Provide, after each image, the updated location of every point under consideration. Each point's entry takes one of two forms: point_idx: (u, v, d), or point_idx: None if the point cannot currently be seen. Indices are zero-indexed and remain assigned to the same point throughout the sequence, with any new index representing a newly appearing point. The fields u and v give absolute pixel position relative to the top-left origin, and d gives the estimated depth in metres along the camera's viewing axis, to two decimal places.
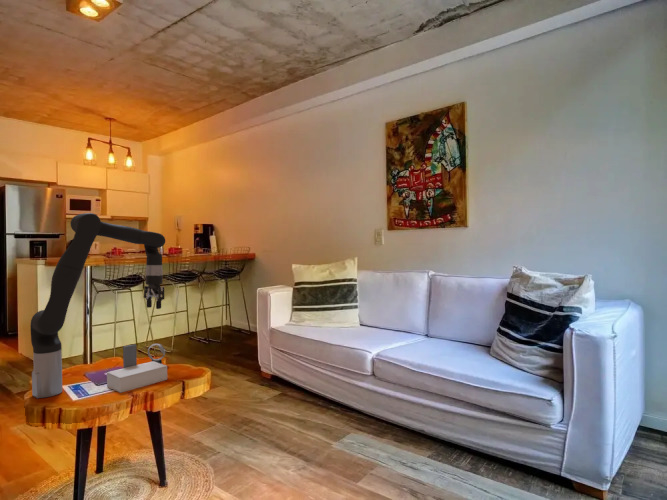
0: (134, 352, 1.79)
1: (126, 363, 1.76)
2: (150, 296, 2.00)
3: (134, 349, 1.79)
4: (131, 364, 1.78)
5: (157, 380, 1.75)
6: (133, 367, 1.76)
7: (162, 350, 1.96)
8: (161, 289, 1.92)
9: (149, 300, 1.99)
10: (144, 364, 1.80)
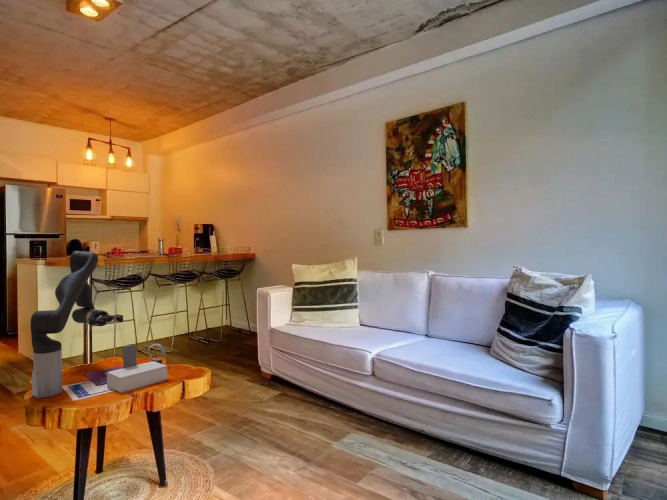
0: (134, 352, 1.79)
1: (126, 363, 1.76)
2: None
3: (134, 349, 1.79)
4: (131, 364, 1.78)
5: (157, 380, 1.75)
6: (133, 367, 1.76)
7: (162, 350, 1.96)
8: None
9: None
10: (144, 364, 1.80)
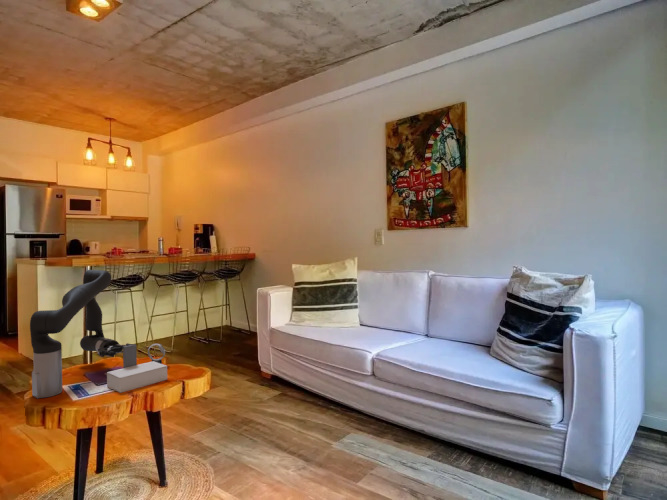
0: (134, 352, 1.79)
1: (126, 363, 1.76)
2: None
3: (134, 349, 1.79)
4: (131, 364, 1.78)
5: (157, 380, 1.75)
6: (133, 367, 1.76)
7: (162, 350, 1.96)
8: None
9: None
10: (144, 364, 1.80)
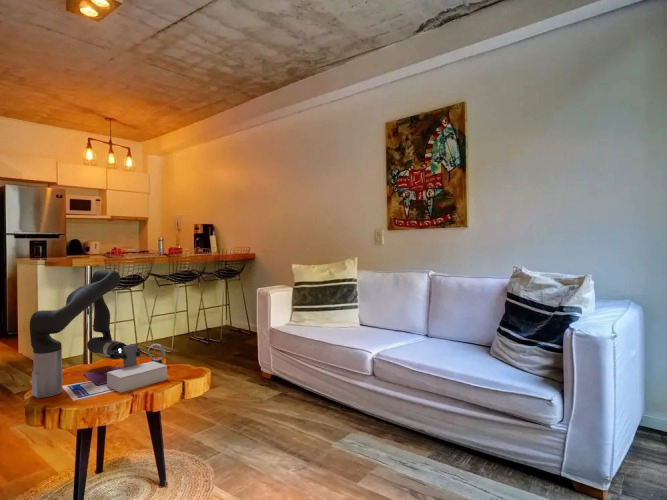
0: (134, 352, 1.79)
1: (126, 363, 1.76)
2: None
3: (134, 349, 1.79)
4: (131, 364, 1.78)
5: (157, 380, 1.75)
6: (133, 367, 1.76)
7: (162, 350, 1.96)
8: None
9: None
10: (144, 364, 1.80)
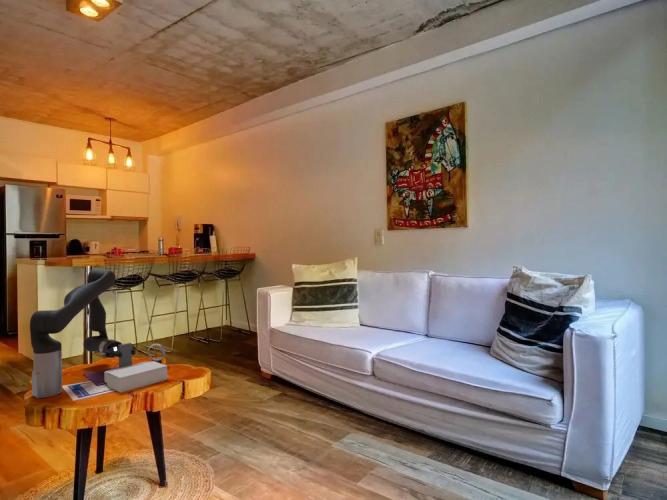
0: (129, 350, 1.82)
1: (121, 361, 1.79)
2: None
3: (129, 347, 1.82)
4: (126, 363, 1.81)
5: (157, 380, 1.75)
6: (133, 367, 1.76)
7: (162, 350, 1.96)
8: None
9: None
10: (144, 364, 1.80)
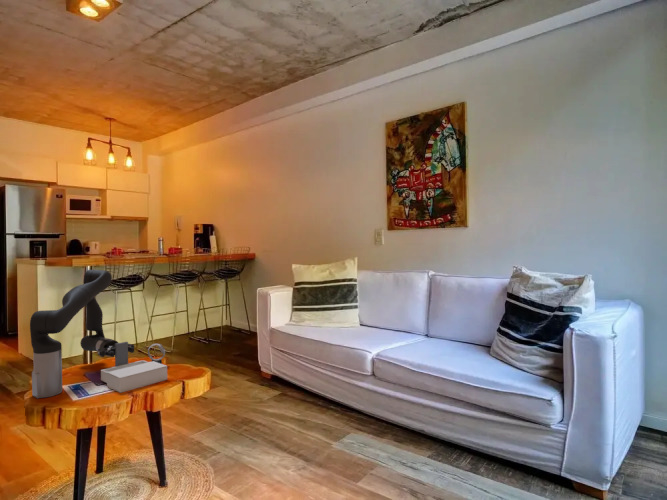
0: (126, 349, 1.84)
1: (118, 360, 1.81)
2: None
3: (126, 346, 1.84)
4: (122, 361, 1.83)
5: (157, 380, 1.75)
6: (133, 367, 1.76)
7: (162, 350, 1.96)
8: None
9: None
10: (144, 364, 1.80)
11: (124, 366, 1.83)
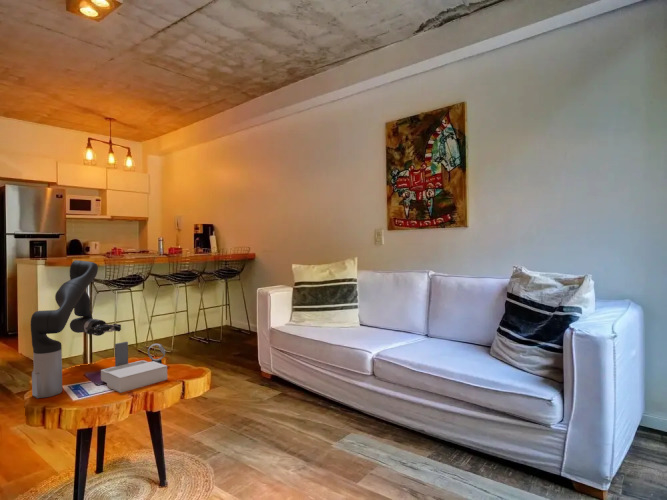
0: (126, 349, 1.84)
1: (118, 360, 1.81)
2: None
3: (126, 346, 1.84)
4: (122, 361, 1.83)
5: (157, 380, 1.75)
6: (133, 367, 1.76)
7: (162, 350, 1.96)
8: None
9: None
10: (144, 364, 1.80)
11: (124, 366, 1.83)
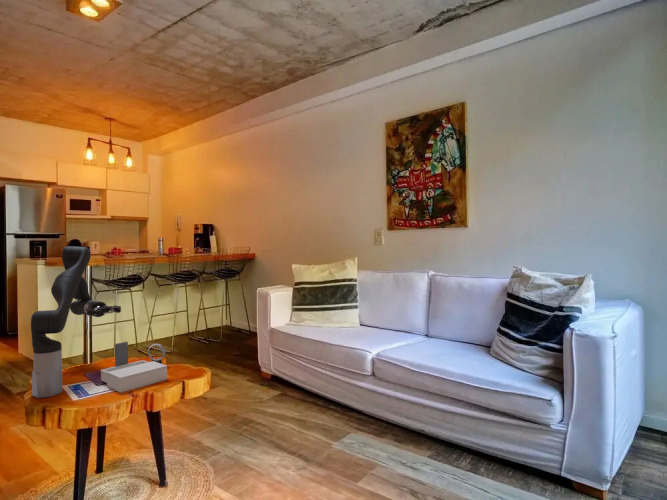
0: (126, 349, 1.84)
1: (118, 360, 1.81)
2: None
3: (126, 346, 1.84)
4: (122, 361, 1.83)
5: (157, 380, 1.75)
6: (133, 367, 1.76)
7: (162, 350, 1.96)
8: None
9: None
10: (144, 364, 1.80)
11: (124, 366, 1.83)
